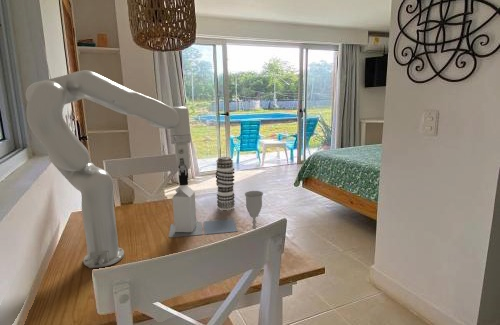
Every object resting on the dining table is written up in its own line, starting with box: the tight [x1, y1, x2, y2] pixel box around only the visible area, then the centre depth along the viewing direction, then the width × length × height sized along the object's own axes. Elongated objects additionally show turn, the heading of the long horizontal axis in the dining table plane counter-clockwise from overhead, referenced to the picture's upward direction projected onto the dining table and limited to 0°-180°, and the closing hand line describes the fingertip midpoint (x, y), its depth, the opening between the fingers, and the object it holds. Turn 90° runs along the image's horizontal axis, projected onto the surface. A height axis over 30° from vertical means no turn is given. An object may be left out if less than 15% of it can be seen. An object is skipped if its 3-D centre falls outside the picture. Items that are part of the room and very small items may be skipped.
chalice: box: [244, 190, 264, 230], centre depth 117 cm, size 7×7×18 cm
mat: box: [203, 218, 238, 235], centre depth 130 cm, size 13×13×1 cm
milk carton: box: [171, 185, 197, 232], centre depth 126 cm, size 7×7×19 cm
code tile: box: [168, 221, 203, 239], centre depth 128 cm, size 13×13×1 cm
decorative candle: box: [214, 156, 236, 211], centre depth 150 cm, size 9×9×25 cm
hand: (184, 181), depth 124 cm, fingers open, 9 cm apart
